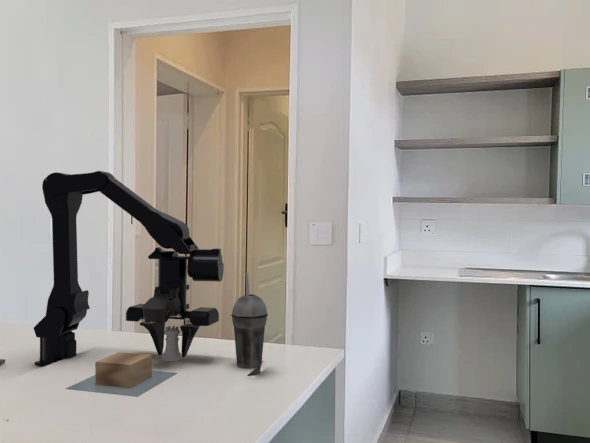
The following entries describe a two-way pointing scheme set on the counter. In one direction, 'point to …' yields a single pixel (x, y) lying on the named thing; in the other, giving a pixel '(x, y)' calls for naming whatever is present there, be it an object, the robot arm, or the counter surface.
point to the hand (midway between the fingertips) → (172, 355)
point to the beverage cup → (249, 330)
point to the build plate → (134, 391)
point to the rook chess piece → (172, 344)
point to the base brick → (123, 369)
